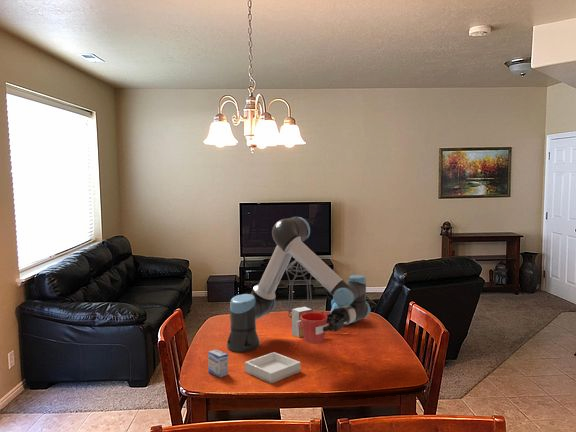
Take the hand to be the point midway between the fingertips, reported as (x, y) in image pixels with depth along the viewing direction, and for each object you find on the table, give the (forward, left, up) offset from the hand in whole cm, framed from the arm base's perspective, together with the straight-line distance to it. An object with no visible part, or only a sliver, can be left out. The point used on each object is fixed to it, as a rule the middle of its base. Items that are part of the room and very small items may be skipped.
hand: (306, 327), depth 191 cm
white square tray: (-15, +1, -20) cm, 25 cm away
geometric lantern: (-27, +68, -20) cm, 75 cm away
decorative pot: (-4, +76, -20) cm, 78 cm away
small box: (-19, +48, -20) cm, 55 cm away
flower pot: (+2, +4, -6) cm, 8 cm away
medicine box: (-35, -8, -20) cm, 41 cm away
